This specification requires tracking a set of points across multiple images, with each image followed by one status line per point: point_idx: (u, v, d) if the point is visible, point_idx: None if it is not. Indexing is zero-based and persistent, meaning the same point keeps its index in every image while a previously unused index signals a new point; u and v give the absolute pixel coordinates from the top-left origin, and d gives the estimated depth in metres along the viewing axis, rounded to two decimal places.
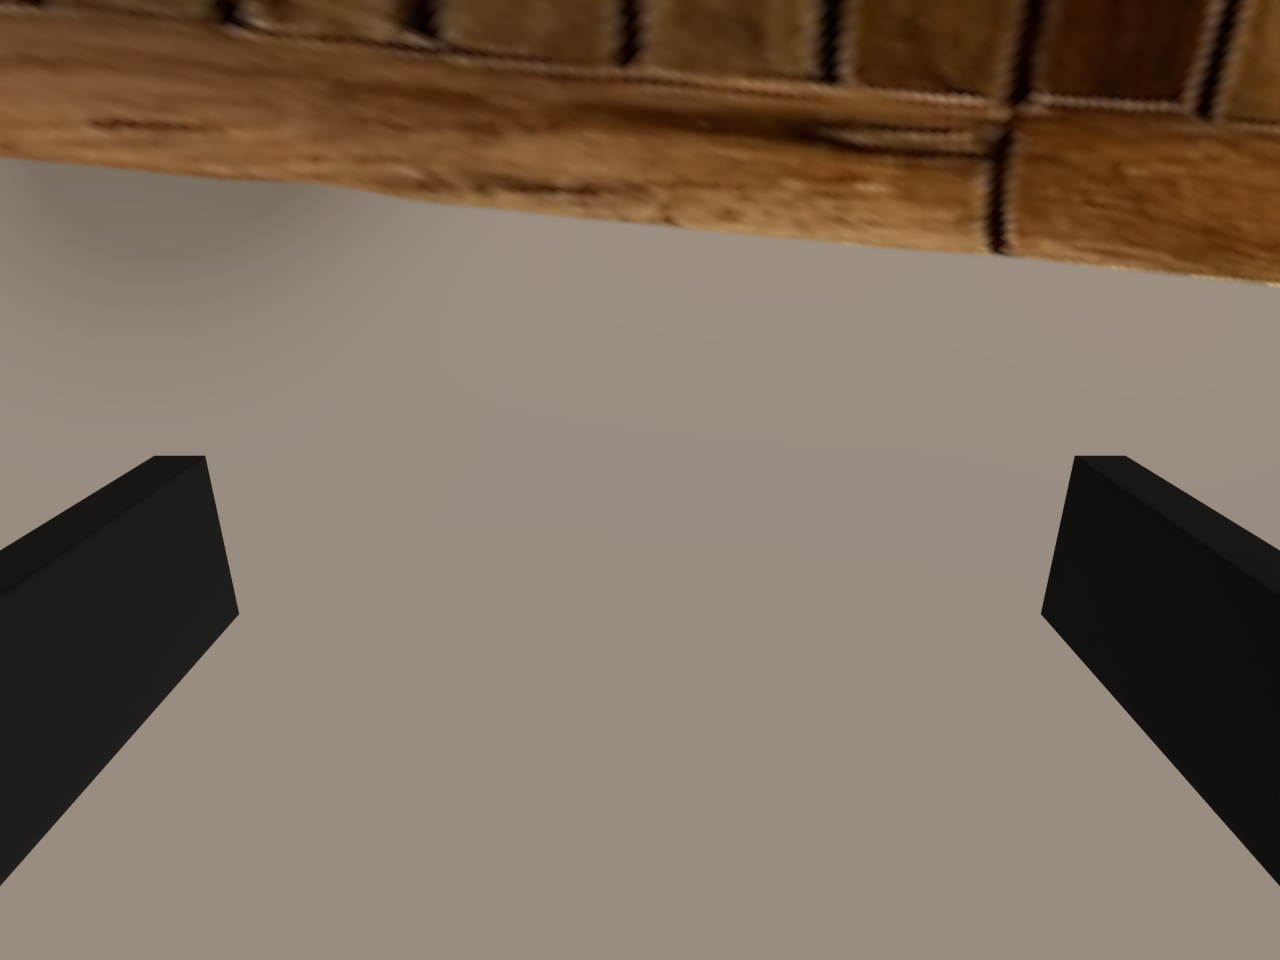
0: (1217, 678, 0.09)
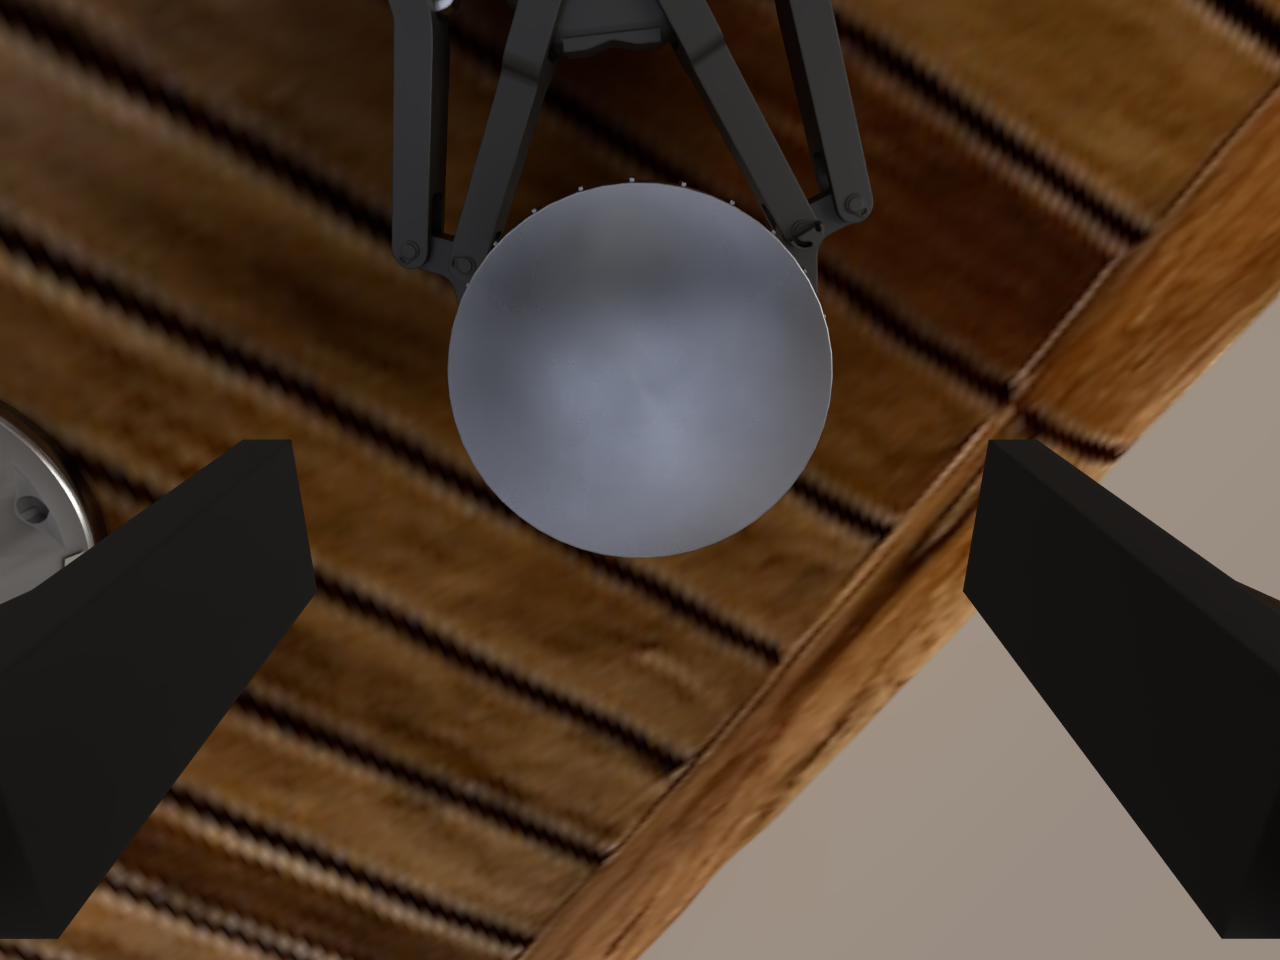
0: (1095, 642, 0.10)
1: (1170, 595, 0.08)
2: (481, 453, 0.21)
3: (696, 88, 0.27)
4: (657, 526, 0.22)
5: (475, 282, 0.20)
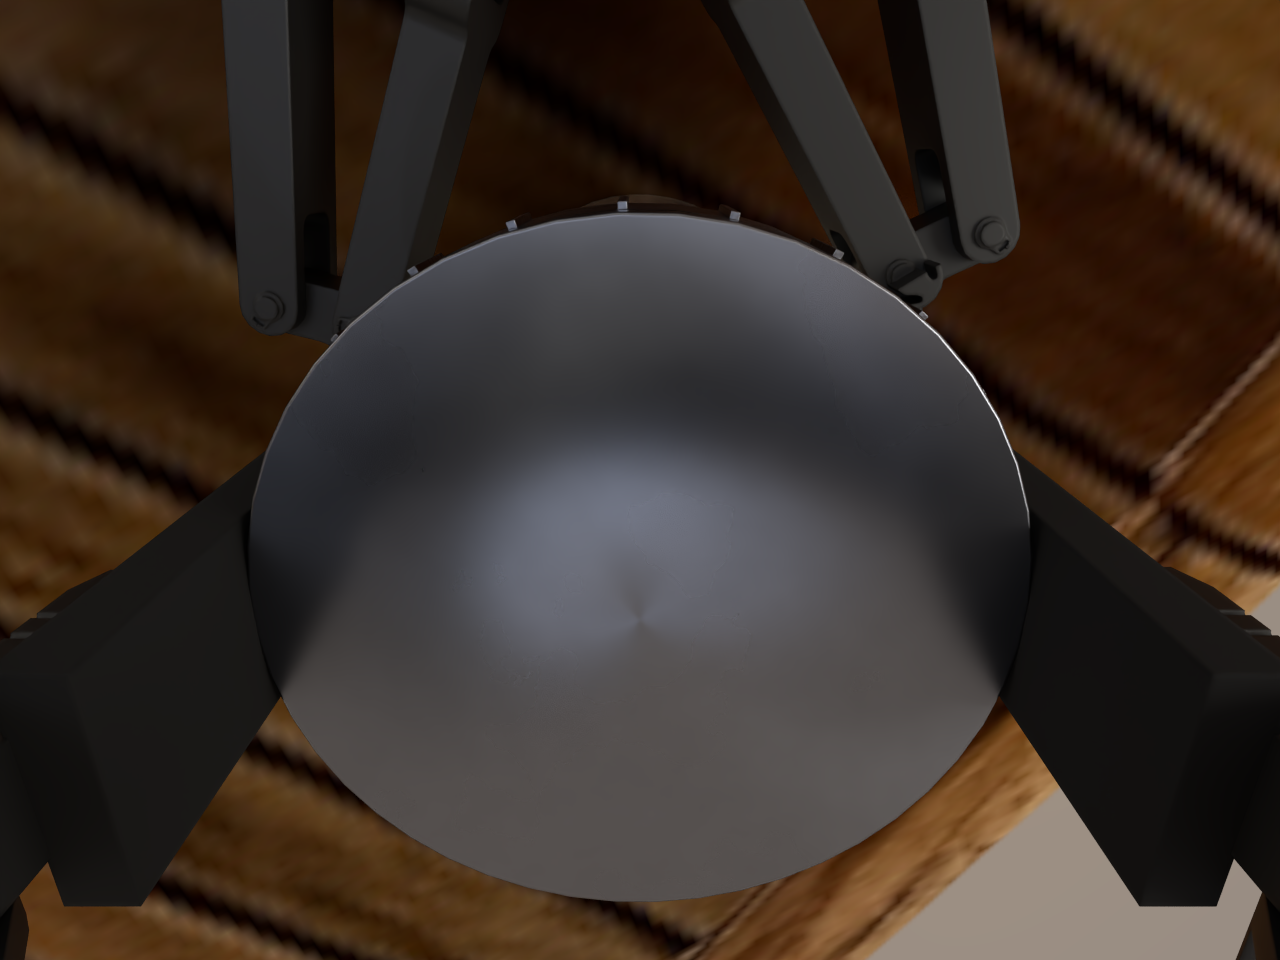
0: (1034, 627, 0.10)
1: (1097, 579, 0.09)
2: (330, 734, 0.11)
3: (730, 46, 0.17)
4: (672, 853, 0.12)
5: (290, 422, 0.09)
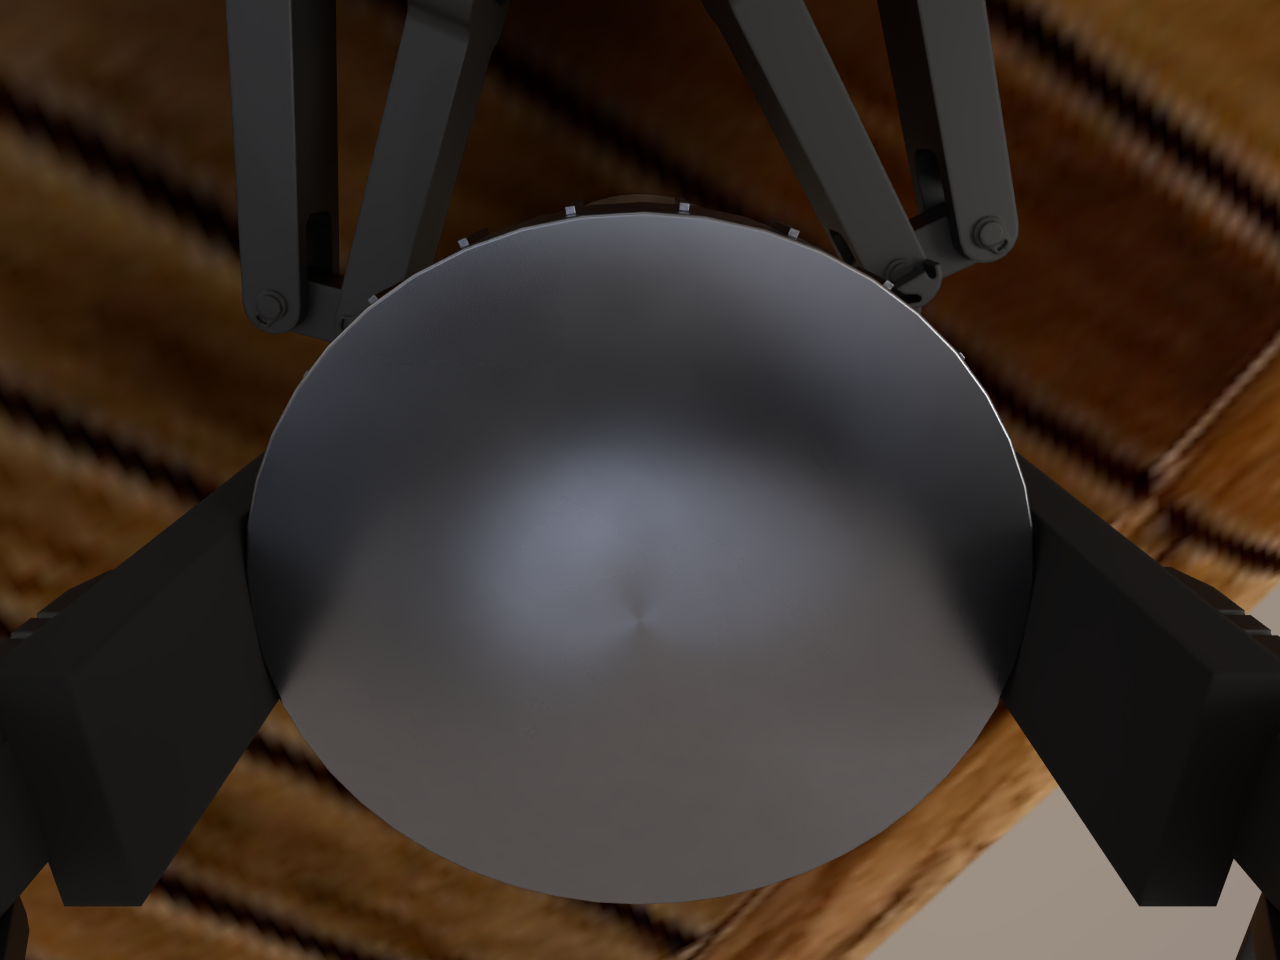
0: (1034, 626, 0.10)
1: (1097, 579, 0.09)
2: (626, 887, 0.12)
3: (730, 46, 0.17)
4: (923, 704, 0.11)
5: (341, 776, 0.11)
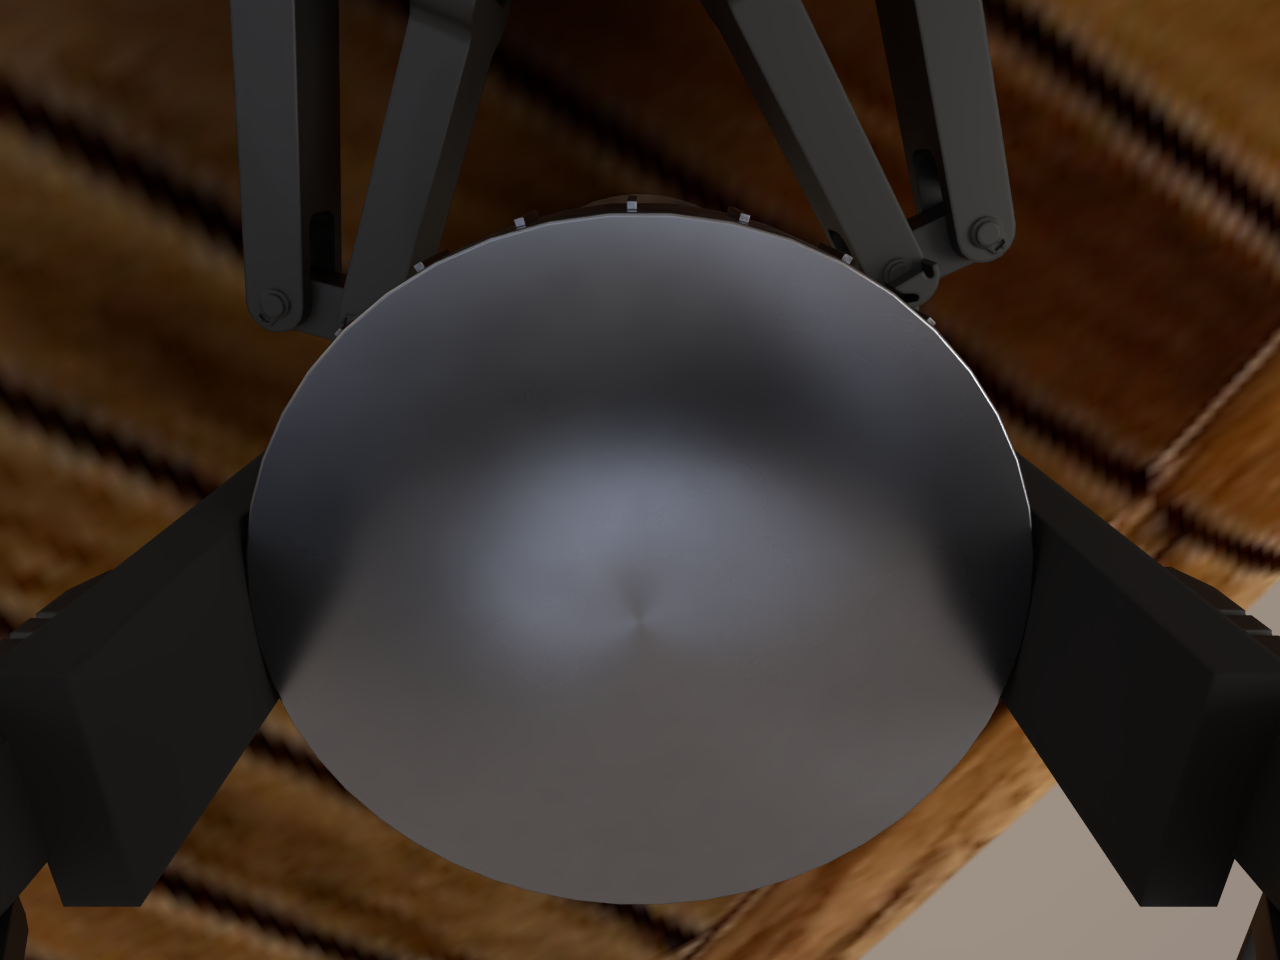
0: (1035, 626, 0.10)
1: (1097, 579, 0.09)
2: (934, 758, 0.11)
3: (730, 48, 0.17)
4: (885, 407, 0.09)
5: (668, 899, 0.12)
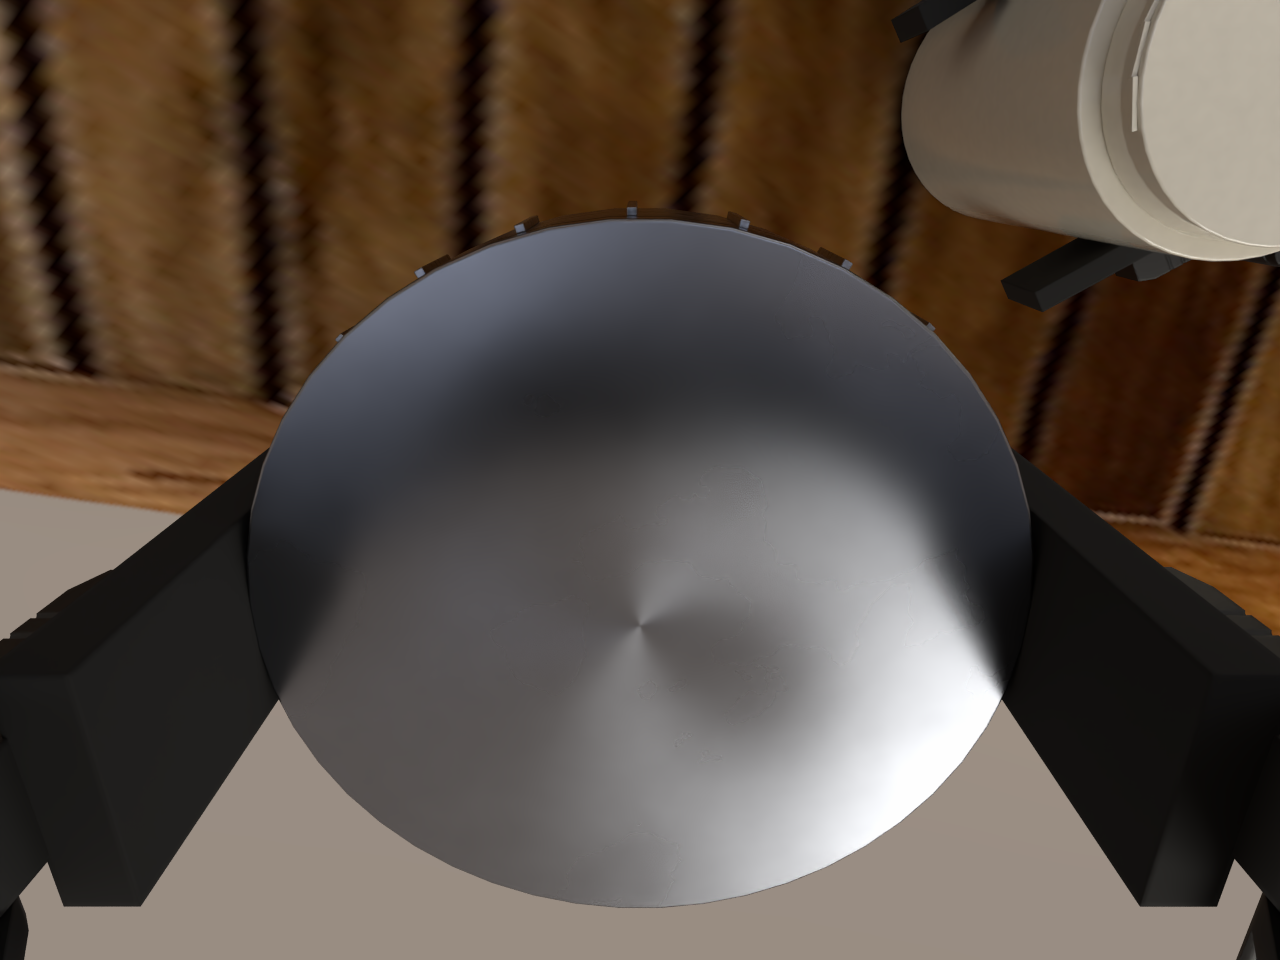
0: (1035, 626, 0.10)
1: (1097, 579, 0.09)
2: (934, 762, 0.11)
3: None
4: (885, 412, 0.09)
5: (668, 903, 0.12)
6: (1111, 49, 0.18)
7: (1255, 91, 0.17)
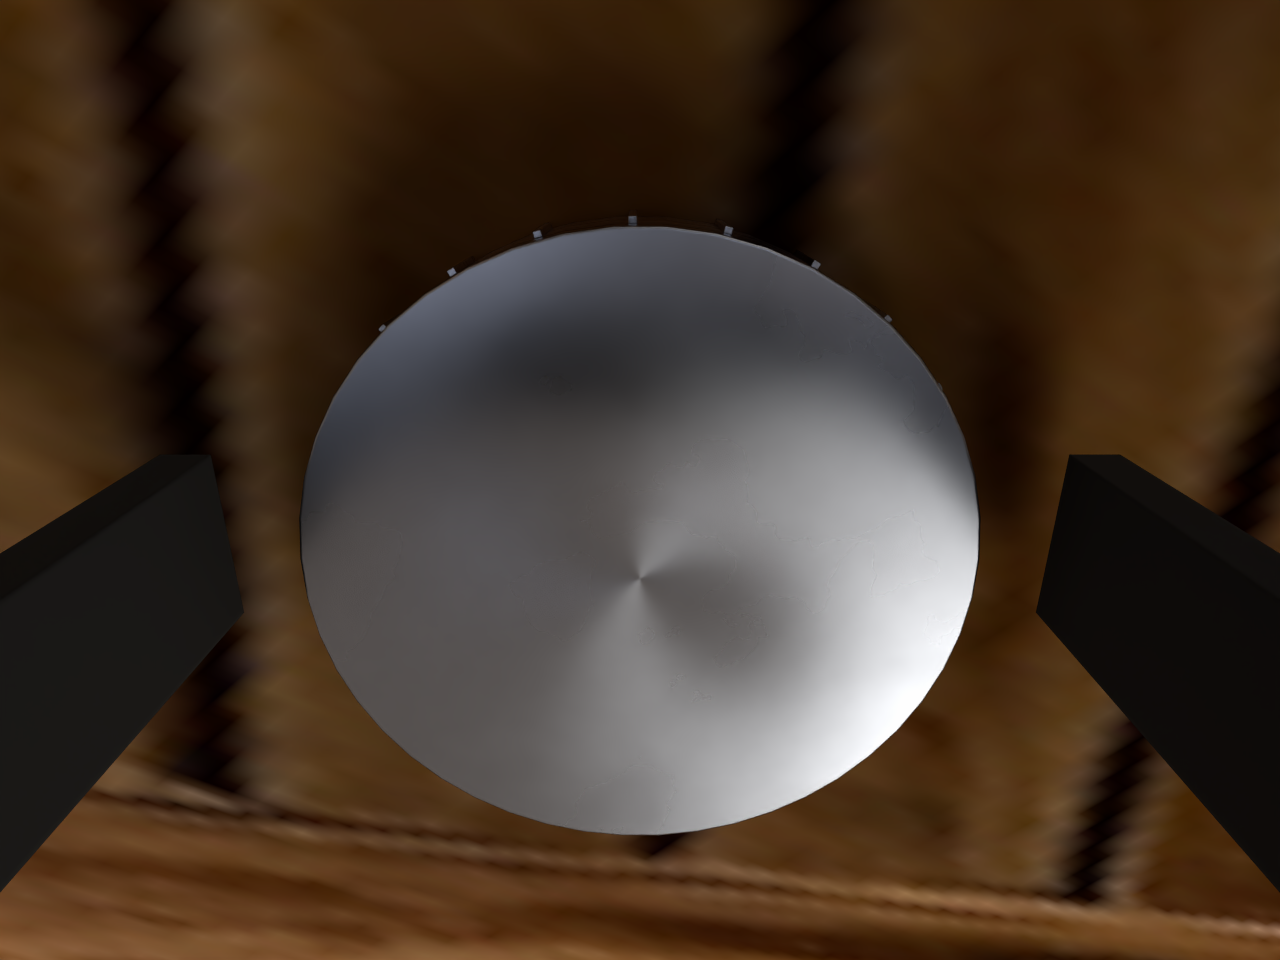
0: (1209, 676, 0.09)
1: None
2: (897, 701, 0.12)
3: None
4: (849, 391, 0.11)
5: (665, 830, 0.13)
6: None
7: None
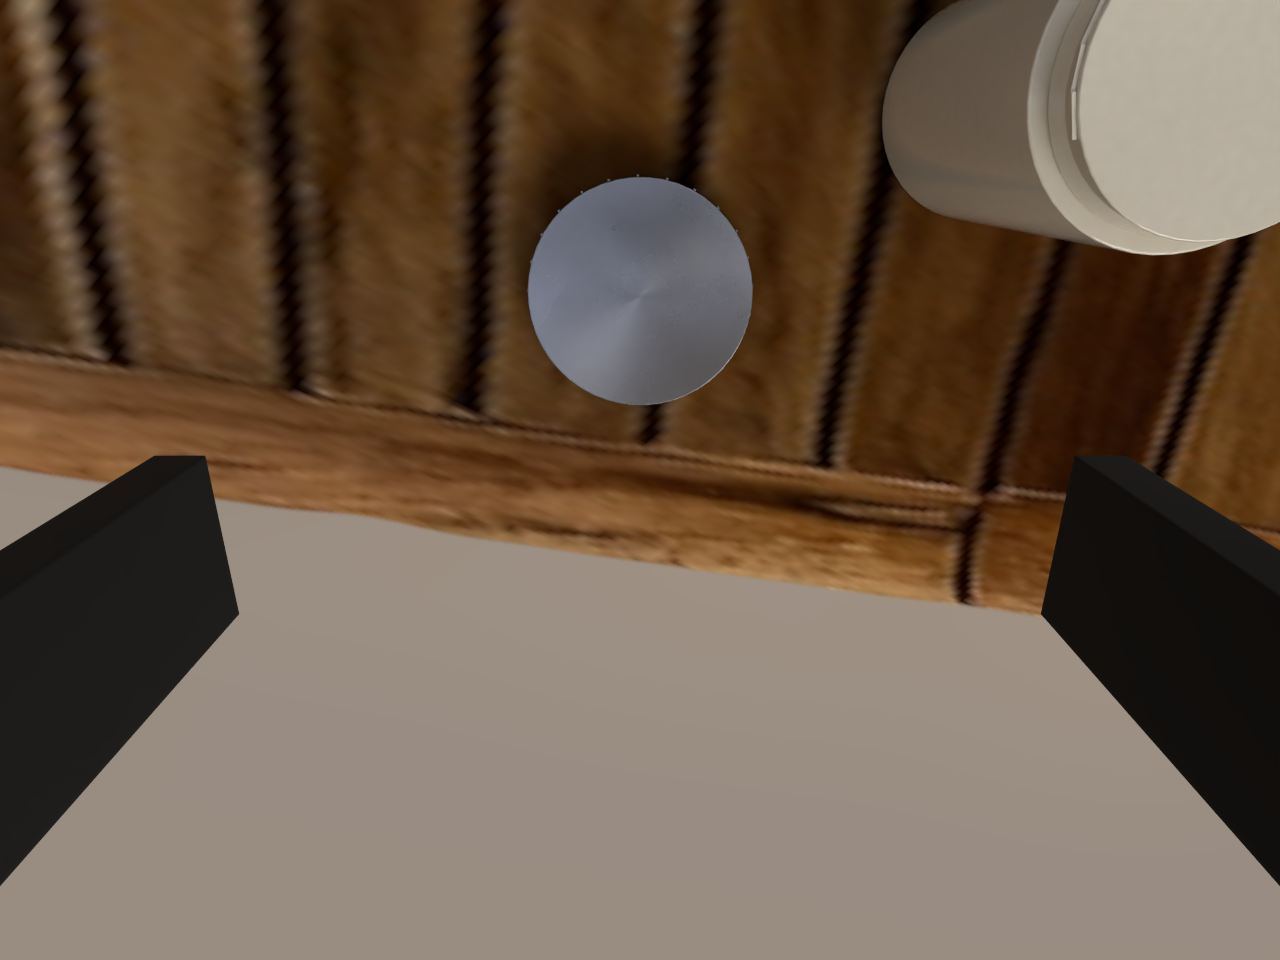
0: (1217, 678, 0.09)
1: None
2: (730, 345, 0.36)
3: None
4: (705, 229, 0.34)
5: (649, 402, 0.37)
6: (1055, 67, 0.21)
7: (1179, 105, 0.20)
